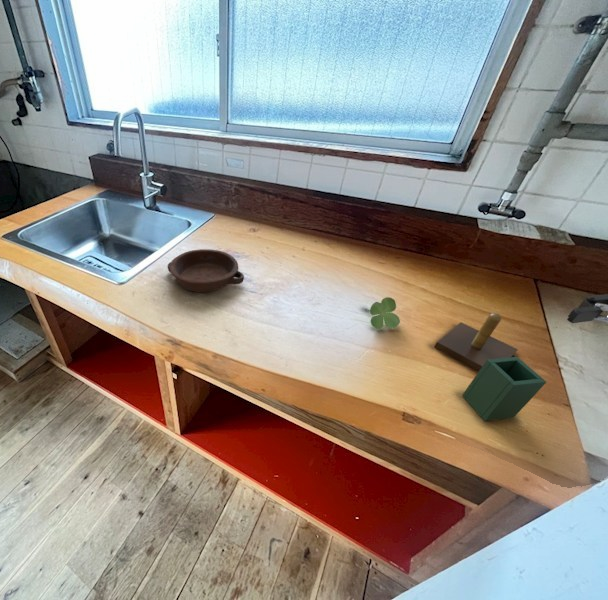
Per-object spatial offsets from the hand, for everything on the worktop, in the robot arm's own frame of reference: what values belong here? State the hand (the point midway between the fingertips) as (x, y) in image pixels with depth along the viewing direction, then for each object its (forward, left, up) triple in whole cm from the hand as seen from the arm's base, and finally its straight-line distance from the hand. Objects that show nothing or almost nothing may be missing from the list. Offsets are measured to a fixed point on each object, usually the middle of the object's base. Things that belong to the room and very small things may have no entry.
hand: (602, 336), depth 46 cm
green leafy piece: (+28, +3, -15) cm, 32 cm away
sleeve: (+5, +9, -14) cm, 18 cm away
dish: (+66, +25, -15) cm, 72 cm away
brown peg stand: (+12, -3, -14) cm, 19 cm away
